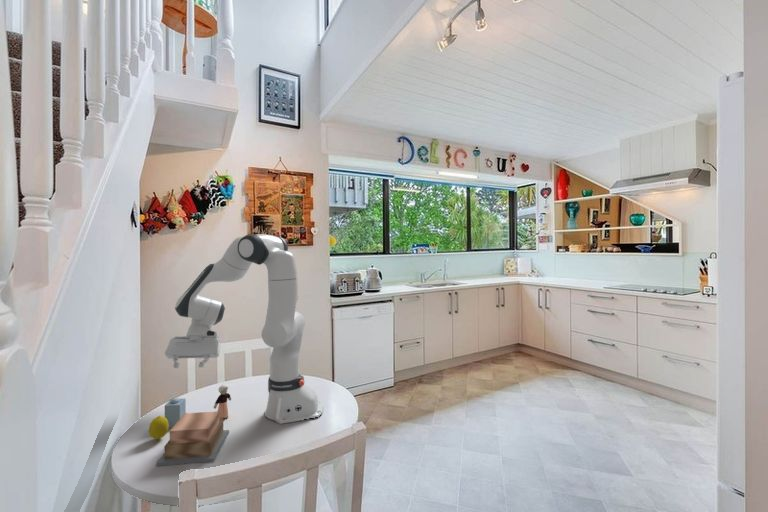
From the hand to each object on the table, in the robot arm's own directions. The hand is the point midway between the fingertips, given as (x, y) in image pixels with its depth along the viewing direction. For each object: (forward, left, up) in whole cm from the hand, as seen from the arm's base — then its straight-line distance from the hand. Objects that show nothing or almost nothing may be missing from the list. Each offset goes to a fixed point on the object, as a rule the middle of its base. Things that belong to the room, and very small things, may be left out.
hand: (188, 367), depth 136 cm
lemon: (+1, +22, -17) cm, 28 cm away
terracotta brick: (-13, +29, -15) cm, 36 cm away
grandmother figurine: (-16, +10, -17) cm, 25 cm away
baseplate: (-13, +29, -16) cm, 36 cm away
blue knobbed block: (0, +12, -16) cm, 20 cm away
